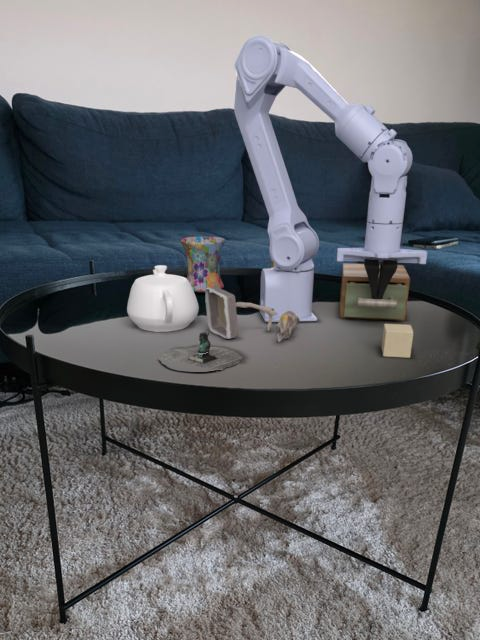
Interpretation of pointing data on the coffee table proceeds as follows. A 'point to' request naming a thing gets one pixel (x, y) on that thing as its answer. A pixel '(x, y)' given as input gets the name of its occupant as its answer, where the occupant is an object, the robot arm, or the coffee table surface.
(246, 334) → the coffee table surface
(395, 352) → the block
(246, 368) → the coffee table surface
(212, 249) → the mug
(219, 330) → the decorative sculpture
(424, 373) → the coffee table surface
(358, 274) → the cabinet
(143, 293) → the teapot
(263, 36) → the robot arm
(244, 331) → the coffee table surface
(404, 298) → the drawer
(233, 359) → the sculpture
